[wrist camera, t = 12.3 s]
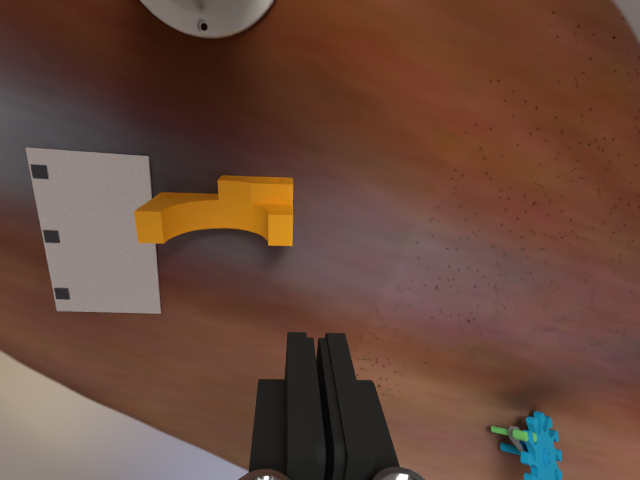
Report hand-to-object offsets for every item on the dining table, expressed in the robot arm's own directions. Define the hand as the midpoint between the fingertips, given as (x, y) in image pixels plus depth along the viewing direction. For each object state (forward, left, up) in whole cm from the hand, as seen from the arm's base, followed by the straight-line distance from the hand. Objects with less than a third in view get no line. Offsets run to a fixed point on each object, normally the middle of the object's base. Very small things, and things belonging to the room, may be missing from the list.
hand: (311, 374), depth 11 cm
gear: (+29, +33, -26) cm, 51 cm away
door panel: (+6, -18, -25) cm, 31 cm away
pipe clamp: (+1, -6, -26) cm, 26 cm away
